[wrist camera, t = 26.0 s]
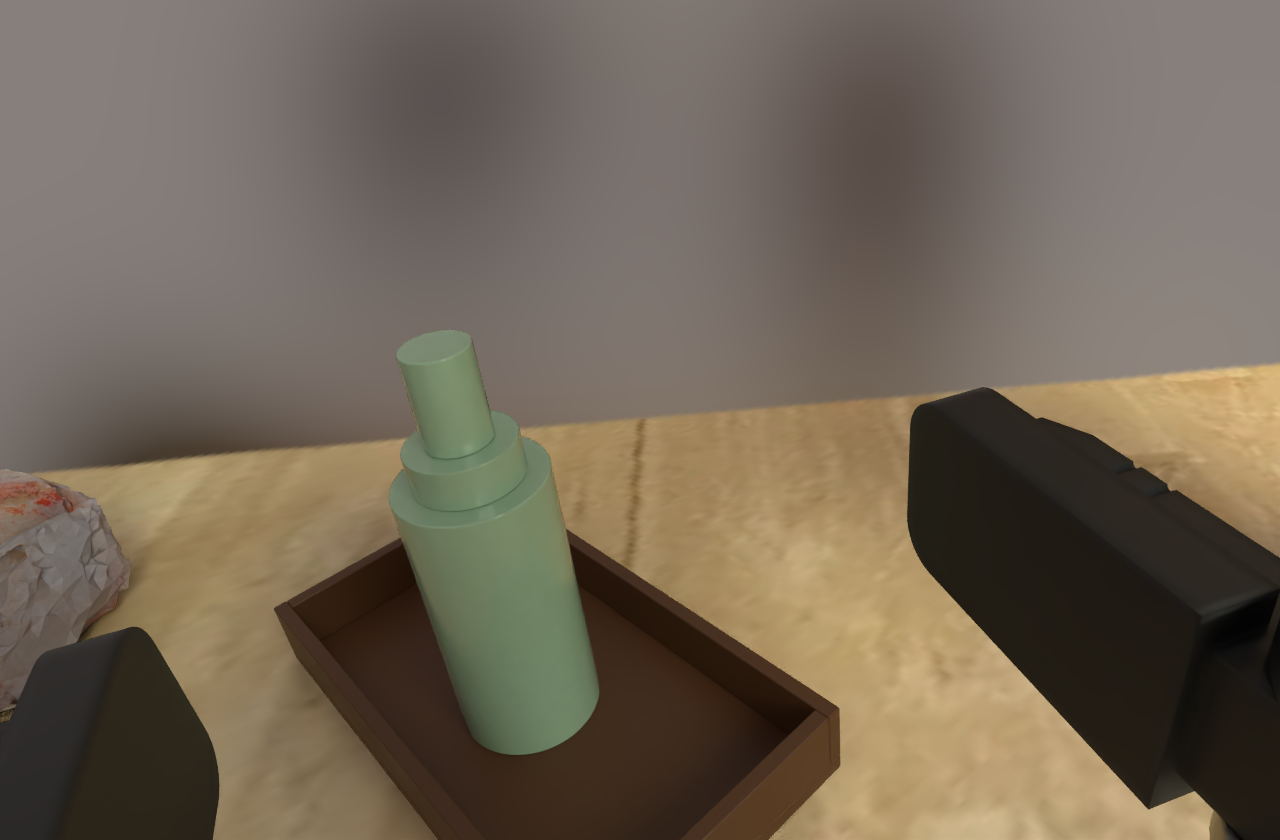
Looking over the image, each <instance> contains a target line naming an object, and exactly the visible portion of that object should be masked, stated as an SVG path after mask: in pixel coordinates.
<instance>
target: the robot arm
mask: <svg viewBox="0 0 1280 840" xmlns="http://www.w3.org/2000/svg"><path fill="white" fill-rule="evenodd" d="M907 522H908V529H909V533H910V537H911V540H912V543H913V546H914V549H915V551H916V553H917V555H918V557H919V559H920V560H921V562H922V564H923V565H924V567H925V568H926V569H927V571H928V572H929V573H930V574H931V575H932V576H933V577H934V578H935V580H936V581H937V582H938V583H939V584H940V585H941V586H942V587H943V588H944V589H945V590H946V591H947V592H948V594H949V595H950V596H951V597H952V598H953V599H954V600H955V601H956V602H957V603H958V604H959V605H960V607H961V608H962V609H963V610H964V611H965V612H966V613H967V614H968V615H969V616H970V617H971V618H972V619H973V621H974V622H975V623H976V624H977V625H978V626H979V627H980V628H981V629H982V630H983V631H984V632H985V634H986V635H987V636H988V637H989V638H990V639H991V640H992V641H993V642H994V643H995V644H996V645H997V646H998V648H999V649H1000V650H1001V651H1002V652H1003V653H1004V654H1005V655H1006V656H1007V657H1008V658H1009V659H1010V661H1011V662H1012V663H1013V664H1014V665H1015V666H1016V667H1017V668H1018V669H1019V670H1020V671H1021V672H1022V674H1023V675H1024V676H1025V677H1026V678H1027V679H1028V680H1029V681H1030V682H1031V683H1032V684H1033V685H1034V686H1035V688H1036V689H1037V690H1038V691H1039V692H1040V693H1041V694H1042V695H1043V696H1044V697H1045V698H1046V699H1047V701H1048V702H1049V703H1050V704H1051V705H1052V706H1053V707H1054V708H1055V709H1056V710H1057V711H1058V712H1059V713H1060V715H1061V716H1062V717H1063V718H1064V719H1065V720H1066V721H1067V722H1068V723H1069V724H1070V725H1071V726H1072V728H1073V729H1074V730H1075V731H1076V732H1077V733H1078V734H1079V735H1080V736H1081V737H1082V738H1083V739H1084V740H1085V742H1086V743H1087V744H1088V745H1089V746H1090V747H1091V748H1092V749H1093V750H1094V751H1095V752H1096V753H1097V755H1098V756H1099V757H1100V758H1101V759H1102V760H1103V761H1104V762H1105V763H1106V764H1107V765H1108V766H1109V767H1110V769H1111V770H1112V771H1113V772H1114V773H1115V774H1116V775H1117V776H1118V777H1119V778H1120V779H1121V780H1122V782H1123V783H1124V784H1125V785H1126V786H1127V787H1128V788H1129V789H1130V790H1131V791H1132V792H1133V793H1134V795H1135V796H1136V797H1137V798H1138V799H1139V800H1140V801H1141V802H1142V803H1143V804H1144V805H1145V806H1146V807H1147V809H1151V808H1153V807H1156V806H1158V805H1161V804H1163V803H1166V802H1168V801H1171V800H1173V799H1176V798H1178V797H1181V796H1183V795H1186V794H1188V793H1191V792H1193V791H1195V792H1196V793H1197V794H1198V795H1199V796H1200V797H1201V798H1202V799H1203V800H1204V801H1205V802H1206V803H1207V804H1208V805H1209V806H1210V807H1211V808H1212V809H1213V810H1214V811H1213V814H1212V817H1211V821H1210V827H1209V831H1210V840H1280V558H1279V557H1277V556H1276V555H1274V554H1273V553H1271V552H1270V551H1268V550H1267V549H1265V548H1264V547H1262V546H1261V545H1259V544H1258V543H1256V542H1254V541H1253V540H1251V539H1250V538H1248V537H1247V536H1245V535H1244V534H1242V533H1241V532H1239V531H1238V530H1236V529H1235V528H1233V527H1232V526H1230V525H1229V524H1227V523H1226V522H1224V521H1223V520H1221V519H1220V518H1218V517H1216V516H1215V515H1213V514H1212V513H1210V512H1209V511H1207V510H1206V509H1204V508H1203V507H1201V506H1200V505H1198V504H1197V503H1195V502H1194V501H1192V500H1191V499H1189V498H1188V497H1186V496H1185V495H1183V494H1182V493H1180V492H1178V491H1177V490H1175V491H1172V492H1171V491H1170V490H1169V489H1168V487H1167V484H1166V483H1165V482H1163V481H1162V480H1160V479H1159V478H1157V477H1156V476H1154V475H1153V474H1151V473H1150V472H1148V471H1147V470H1145V469H1144V468H1142V467H1140V468H1137V469H1136V468H1135V467H1134V464H1133V461H1131V460H1130V459H1128V458H1127V457H1125V456H1124V455H1122V454H1121V453H1119V452H1118V451H1116V450H1115V449H1113V448H1112V447H1110V446H1109V445H1107V444H1106V443H1104V442H1102V441H1101V440H1099V439H1098V438H1096V437H1095V436H1093V435H1091V434H1088V433H1085V432H1082V431H1080V430H1077V429H1074V428H1071V427H1068V426H1065V425H1062V424H1060V423H1057V422H1054V421H1051V420H1048V419H1045V418H1038V419H1036V418H1034V417H1033V416H1031V415H1030V414H1028V413H1027V412H1025V411H1024V410H1023V409H1021V408H1020V407H1018V406H1017V405H1015V404H1014V403H1012V402H1011V401H1009V400H1008V399H1007V398H1005V397H1004V396H1002V395H1001V394H999V393H998V392H996V391H994V390H993V389H990V388H984V387H982V388H978V389H974V390H971V391H967V392H964V393H960V394H957V395H953V396H950V397H946V398H943V399H939V400H936V401H932V402H929V403H925V404H922V405H920V406H918V407H917V408H916V409H915V411H914V413H913V415H912V419H911V425H910V450H909V478H908V507H907ZM218 800H219V773H218V766H217V760H216V756H215V752H214V748H213V745H212V742H211V740H210V737H209V735H208V733H207V731H206V729H205V728H204V726H203V724H202V722H201V721H200V719H199V717H198V716H197V714H196V712H195V711H194V709H193V707H192V706H191V704H190V702H189V700H188V699H187V697H186V695H185V694H184V692H183V690H182V689H181V687H180V685H179V683H178V682H177V680H176V678H175V677H174V675H173V673H172V672H171V670H170V668H169V667H168V665H167V663H166V661H165V660H164V658H163V656H162V655H161V653H160V651H159V650H158V648H157V646H156V645H155V643H154V641H153V640H152V638H151V637H150V636H149V635H148V634H147V633H146V632H145V631H144V630H143V629H141V628H139V627H130V628H126V629H123V630H119V631H116V632H112V633H109V634H105V635H102V636H98V637H95V638H91V639H88V640H84V641H81V642H77V643H74V644H70V645H67V646H63V647H59V648H56V649H52V650H49V651H46V652H44V653H43V654H41V655H40V657H39V658H38V659H37V660H36V662H35V664H34V666H33V668H32V670H31V672H30V675H29V677H28V679H27V682H26V684H25V686H24V688H23V691H22V693H21V695H20V697H19V700H18V702H17V704H16V707H15V709H14V711H13V713H12V716H11V718H10V720H9V721H6V722H2V723H0V840H213V833H214V827H215V820H216V814H217V807H218Z"/></svg>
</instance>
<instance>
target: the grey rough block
mask: <svg viewBox="0 0 1280 840" xmlns="http://www.w3.org/2000/svg"><path fill="white" fill-rule="evenodd" d="M130 575H131V562H130V561H129V559H124V557H123V555H122V554H121V547H120V546H119V544H118V543H117V541H116V539H115V537H114V536H113V534H112V531H111V527H110V526H109V524H108V523H107V521H106V517H105V515H104V514H103V512H102V509H101V506H100V505H98V504H97V501H96V498H89V497H87V496H86V495H84V494H83V493H80V492H73V491H71V490H70V489H69V487H67V486H64V485H60V484H57V483H54V482H51V481H47V480H44V479H41V478H37V477H35V476H33V475H30V474H26V473H21V472H15V471H10V470H8V469H4V470H0V712H2V711H5V710H8V709H12V708H15V707H16V704H17V702H18V700H19V697H20V695H21V693H22V691H23V688H24V686H25V684H26V682H27V679H28V677H29V675H30V672H31V670H32V668H33V666H34V664H35V662H36V660H37V659H38V658H39V657H40V655H41V654H43V653H44V652H46V651H49V650H52V649H56V648H59V647H63V646H67V645H70V644H74V643H77V641H78V639H79V637H80V634H81V633H83V632H84V631H85V630H86V629H87V628H88V627H89V626H90V625H91V624H92V623H93V622H94V621H96V620H97V619H98V618H100V617H101V616H102V615H104V614H106V613H107V612H109V611H111V610H112V609H114V608H115V605H116V602H117V597H118V592H119V591H121V590H124V589H128V588H129V577H130Z"/></svg>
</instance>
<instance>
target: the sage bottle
mask: <svg viewBox="0 0 1280 840" xmlns="http://www.w3.org/2000/svg"><path fill="white" fill-rule="evenodd" d="M396 360H397V363H398V365H399V369H400V372H401V376H402V379H403V382H404V386H405V389H406V392H407V395H408V399H409V402H410V405H411V408H412V412H413V415H414V418H415V421H416V425H417V428H418V430H416V431H415V432H414V433H413V434H411V435H410V436H409V437H408V439H407V440H406V441H405V442H404V444H403V446H402V448H401V453H400V458H401V461H402V464H403V467H404V469H403V470H402V471H401V472H400V473H399V474H398V476H397V477H396V478H395V480H394V482H393V483H392V486H391V488H390V492H389V504H390V508H391V511H392V514H393V516H394V519H395V522H396V525H397V528H398V531H399V534H400V537H401V540H402V543H403V545H404V548H405V551H406V554H407V557H408V560H409V563H410V566H411V569H412V572H413V574H414V577H415V580H416V583H417V586H418V589H419V592H420V595H421V598H422V601H423V603H424V606H425V609H426V612H427V615H428V618H429V621H430V624H431V627H432V630H433V632H434V635H435V638H436V641H437V644H438V647H439V650H440V653H441V656H442V659H443V662H444V664H445V667H446V670H447V673H448V676H449V679H450V682H451V685H452V688H453V691H454V693H455V696H456V699H457V702H458V705H459V708H460V711H461V714H462V717H463V720H464V722H465V725H466V728H467V730H468V732H469V733H470V735H471V736H472V737H473V739H474V740H476V741H477V742H478V743H479V744H480V745H482V746H484V747H485V748H487V749H489V750H491V751H494V752H497V753H501V754H507V755H527V754H533V753H538V752H541V751H545V750H548V749H550V748H552V747H555V746H557V745H559V744H561V743H562V742H564V741H566V740H567V739H569V738H570V737H572V736H573V735H574V734H575V733H576V732H578V731H579V730H580V729H581V728H582V727H583V725H584V724H585V723H586V722H587V721H588V719H589V718H590V716H591V715H592V713H593V711H594V709H595V707H596V704H597V701H598V697H599V687H600V686H599V679H598V674H597V670H596V665H595V660H594V656H593V651H592V647H591V642H590V638H589V633H588V628H587V624H586V619H585V615H584V610H583V605H582V601H581V596H580V592H579V587H578V583H577V578H576V573H575V569H574V564H573V560H572V555H571V551H570V546H569V541H568V537H567V532H566V528H565V523H564V519H563V514H562V509H561V505H560V500H559V496H558V491H557V487H556V482H555V477H554V473H553V468H552V464H551V460H550V457H549V454H548V453H547V451H546V450H545V449H544V448H543V447H542V446H541V445H540V444H538V443H537V442H535V441H533V440H531V439H529V438H525V437H522V436H521V433H520V429H519V426H518V424H517V422H516V421H515V420H514V419H513V418H512V417H511V416H509V415H507V414H505V413H502V412H499V411H493V410H490V409H489V405H488V401H487V397H486V393H485V389H484V385H483V381H482V377H481V373H480V369H479V365H478V361H477V357H476V353H475V349H474V346H473V341H472V338H471V337H470V335H469V334H467V333H466V332H462V331H458V330H441V331H435V332H430V333H427V334H423V335H420V336H418V337H415V338H413V339H411V340H409V341H407V342H406V343H404V344H403V345H402V346H401V347H400V348H399V349H398V350H397V352H396Z"/></svg>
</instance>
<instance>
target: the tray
mask: <svg viewBox="0 0 1280 840" xmlns="http://www.w3.org/2000/svg"><path fill="white" fill-rule="evenodd" d="M566 532H567V537H568V541H569V546H570V551H571V555H572V560H573V564H574V569H575V573H576V578H577V583H578V587H579V592H580V596H581V601H582V605H583V610H584V615H585V619H586V624H587V628H588V633H589V638H590V642H591V647H592V651H593V656H594V660H595V665H596V670H597V674H598V679H599V686H600V687H599V697H598V701H597V704H596V707H595V709H594V711H593V713H592V715H591V716H590V718H589V719H588V721H587V722H586V723H585V724H584V725H583V727H582V728H581V729H580V730H579V731H578V732H576V733H575V734H574V735H573V736H572V737H570V738H569V739H567V740H566V741H564V742H562V743H561V744H559V745H557V746H555V747H552V748H550V749H548V750H545V751H541V752H538V753H533V754H527V755H507V754H501V753H497V752H494V751H491V750H489V749H487V748H485V747H484V746H482V745H480V744H479V743H478V742H477V741H476V740H474V739H473V737H472V736H471V735H470V733H469V732H468V730H467V728H466V725H465V722H464V720H463V717H462V714H461V711H460V708H459V705H458V702H457V699H456V696H455V693H454V691H453V688H452V685H451V682H450V679H449V676H448V673H447V670H446V667H445V664H444V662H443V659H442V656H441V653H440V650H439V647H438V644H437V641H436V638H435V635H434V632H433V630H432V627H431V624H430V621H429V618H428V615H427V612H426V609H425V606H424V603H423V601H422V598H421V595H420V592H419V589H418V586H417V583H416V580H415V577H414V574H413V572H412V569H411V566H410V563H409V560H408V557H407V554H406V551H405V548H404V545H403V543H402V540H401V538H399V539H397V540H395V541H394V542H392V543H390V544H388V545H386V546H385V547H383V548H381V549H379V550H377V551H376V552H374V553H372V554H370V555H369V556H367V557H365V558H363V559H361V560H360V561H358V562H356V563H354V564H352V565H351V566H349V567H347V568H345V569H344V570H342V571H340V572H338V573H336V574H335V575H333V576H331V577H329V578H327V579H326V580H324V581H322V582H320V583H318V584H317V585H315V586H313V587H311V588H310V589H308V590H306V591H304V592H302V593H301V594H299V595H297V596H295V597H293V598H292V599H290V600H288V601H287V602H284V603H282V604H281V605H279V606H277V607H275V608H274V610H275V612H276V614H277V616H278V619H279V621H280V623H281V625H282V627H283V629H284V632H285V634H286V636H287V638H288V640H289V642H290V644H291V647H292V648H293V651H294V653H295V655H296V657H297V659H298V660H299V661H300V662H301V664H302V665H303V666H304V668H305V669H306V670H307V671H308V673H309V674H310V675H311V676H312V678H313V679H314V680H315V682H316V683H317V684H318V685H319V687H320V688H321V689H322V691H323V692H324V693H325V694H326V696H327V697H328V698H329V700H330V701H331V702H332V703H333V705H334V706H335V707H336V709H337V710H338V711H339V712H340V714H341V715H342V716H343V718H344V719H345V720H346V721H347V723H348V724H349V725H350V726H351V728H352V729H353V730H354V732H355V733H356V734H357V735H358V737H359V738H360V739H361V741H362V742H363V743H364V744H365V746H366V747H367V748H368V750H369V751H370V752H371V753H372V755H373V756H374V757H375V759H376V760H377V761H378V762H379V764H380V765H381V766H382V768H383V769H384V770H385V771H386V773H387V774H388V775H389V777H390V778H391V779H392V780H393V782H394V783H395V784H396V785H397V787H398V788H399V789H400V791H401V792H402V793H403V794H404V796H405V797H406V798H407V800H408V801H409V802H410V803H411V805H412V806H413V807H414V809H415V810H416V811H417V812H418V814H419V815H420V816H421V818H422V819H423V820H424V821H425V823H426V824H427V825H428V827H429V828H430V829H431V830H432V832H433V833H434V834H435V835H436V837H437V838H438V839H439V840H768V839H769V838H770V837H771V836H772V835H773V834H774V833H775V832H776V831H777V830H778V829H779V828H780V827H781V826H782V825H783V824H784V823H785V822H786V821H787V820H788V819H789V818H790V817H791V816H792V815H793V814H794V812H795V811H796V810H797V809H798V808H799V807H800V806H801V805H802V804H803V803H804V802H805V801H806V800H807V799H808V798H809V797H810V796H811V795H812V794H813V793H814V792H815V791H816V790H817V789H818V788H819V787H820V786H821V785H822V784H823V783H824V782H825V781H826V780H827V779H828V778H829V777H830V775H831V774H832V773H833V772H834V771H835V770H836V769H837V768H838V767H839V766H840V717H839V708H838V707H837V706H836V705H834V704H832V703H831V702H829V701H828V700H826V699H825V698H823V697H822V696H820V695H819V694H817V693H816V692H814V691H813V690H811V689H810V688H808V687H807V686H805V685H803V684H802V683H800V682H799V681H797V680H796V679H794V678H793V677H791V676H790V675H788V674H787V673H785V672H784V671H782V670H781V669H779V668H778V667H776V666H774V665H773V664H771V663H770V662H768V661H767V660H765V659H764V658H762V657H761V656H759V655H758V654H756V653H755V652H753V651H752V650H750V649H749V648H747V647H745V646H744V645H742V644H741V643H739V642H738V641H736V640H735V639H733V638H732V637H730V636H729V635H727V634H726V633H724V632H723V631H721V630H720V629H718V628H716V627H715V626H713V625H712V624H710V623H709V622H707V621H706V620H704V619H703V618H701V617H700V616H698V615H697V614H695V613H694V612H692V611H691V610H689V609H688V608H686V607H684V606H683V605H681V604H680V603H678V602H677V601H675V600H674V599H672V598H671V597H669V596H668V595H666V594H665V593H663V592H662V591H660V590H659V589H657V588H655V587H654V586H652V585H651V584H649V583H648V582H646V581H645V580H643V579H642V578H640V577H639V576H637V575H636V574H634V573H633V572H631V571H630V570H628V569H626V568H625V567H623V566H622V565H620V564H619V563H617V562H616V561H614V560H613V559H611V558H610V557H608V556H607V555H605V554H604V553H602V552H601V551H599V550H597V549H596V548H594V547H593V546H591V545H590V544H588V543H587V542H585V541H584V540H582V539H581V538H579V537H578V536H576V535H575V534H573V533H572V532H570V531H568V530H567V529H566Z"/></svg>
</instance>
